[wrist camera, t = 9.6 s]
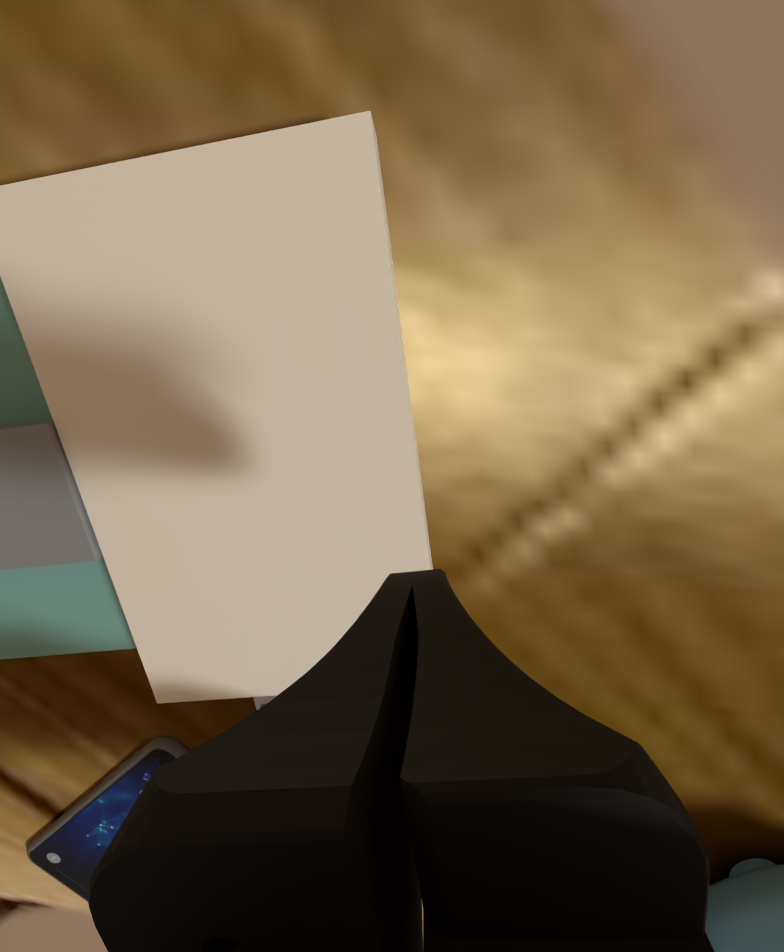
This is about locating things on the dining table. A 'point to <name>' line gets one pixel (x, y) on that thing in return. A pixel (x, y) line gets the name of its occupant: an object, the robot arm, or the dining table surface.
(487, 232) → the dining table surface
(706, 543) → the dining table surface
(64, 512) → the grey bevelled tile
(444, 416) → the dining table surface
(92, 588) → the mat
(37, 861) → the smartphone
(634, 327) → the dining table surface
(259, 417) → the white flat board
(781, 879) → the decorative pot
